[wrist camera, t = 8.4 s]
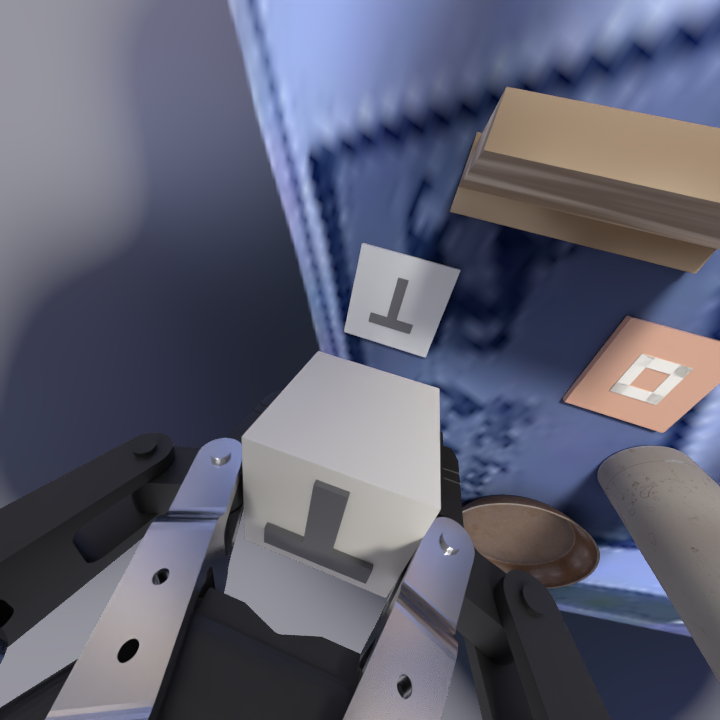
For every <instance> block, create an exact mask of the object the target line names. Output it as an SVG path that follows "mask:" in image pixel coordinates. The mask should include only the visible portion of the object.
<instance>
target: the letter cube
mask: <svg viewBox="0 0 720 720" xmlns="http://www.w3.org/2000/svg"><path fill="white" fill-rule="evenodd" d="M242 468H243V500H244V532H245V540H247V541H250V542H252V543H254V544H257V545H259V546H262V547H264V548H267V549H269V550H271V551H274V552H276V553H279V554H281V555H283V556H286V557H288V558H291V559H293V560H296V561H298V562H300V563H303V564H305V565H308V566H310V567H312V568H315V569H318V570H320V571H322V572H325V573H327V574H330V575H332V576H334V577H337V578H339V579H341V580H344V581H346V582H349V583H351V584H354V585H356V586H358V587H361V588H363V589H366V590H368V591H371V592H373V593H376V594H378V595H380V596H383V597H385V598H386V597H387V595H388V594H389V592H390V590H391V589H392V587H393V586H394V584H395V582H396V581H397V579H398V577H399V576H400V574H401V573H402V571H403V570H404V568H405V566H406V565H407V563H408V562H409V560H410V558H411V557H412V555H413V553H414V552H415V550H416V549H417V547H418V545H419V543H420V542H421V540H422V539H423V537H424V536H425V534H426V533H427V531H428V529H429V528H430V526H431V525H432V523H433V521H434V520H435V518H436V516H437V515H438V513H439V512H440V510H441V483H440V406H439V388H436V387H432V386H429V385H426V384H423V383H420V382H416V381H413V380H410V379H407V378H404V377H400V376H397V375H394V374H391V373H387V372H384V371H381V370H378V369H375V368H371V367H368V366H365V365H362V364H359V363H355V362H352V361H349V360H346V359H343V358H339V357H336V356H333V355H330V354H327V353H323V352H320V351H318V352H317V353H316V354H315V355H314V356H313V357H312V359H311V360H310V361H309V362H308V363H307V364H306V365H305V366H304V367H303V369H302V370H301V371H300V372H299V373H298V374H297V375H296V376H295V378H294V379H293V380H292V381H291V382H290V383H289V384H288V385H287V386H286V388H285V389H284V390H283V391H282V392H281V393H280V394H279V395H278V397H277V398H276V399H275V400H274V401H273V402H272V403H271V404H270V405H269V407H268V408H267V409H266V410H265V411H264V412H263V413H262V414H261V416H260V417H259V418H258V419H257V420H256V421H255V422H254V423H253V424H252V426H251V427H250V428H249V429H248V430H247V431H246V432H245V433H244V435H243V436H242Z"/></svg>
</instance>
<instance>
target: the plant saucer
mask: <svg viewBox="0 0 720 720" xmlns="http://www.w3.org/2000/svg"><path fill="white" fill-rule="evenodd" d="M462 513H463V524H464V529H465V530H466V532H467V533H468V534H469V536H470V538H471V540H472V542H473V545H474V547H475V549H476V550H477V551H478V552H479V553H480V554H481V555H483V556H484V557H485V558H486V559H488V560H489V561H490V562H492V563H493V564H495V565H496V566H497V567H499V568H500V569H501V570H503V571H504V572H505V573H508V572H509V571H511V570H522V571H525V572H527V573H529V574H530V575H532V576H533V577H535V578H536V579H537V580H538V581H540V582H541V583H542V585H543V586H544V587H545V588H546V589H550V588H558V587H564V586H568V585H572V584H574V583H577V582H579V581H581V580H583V579H585V578H586V577H588V576H589V575H590V574H592V572H594V570H595V569H596V568H597V565H598V563H599V559H600V553H599V549H598V546H597V544H596V542H595V541H594V539H593V538H592V537H591V535H590V534H589V533H588V532H587V531H586V530H585V529H583V528H582V527H581V526H580V525H579V524H578V523H576V522H575V521H574V520H572V519H571V518H569V517H568V516H566V515H565V514H563V513H562V512H560V511H558V510H557V509H555V508H553V507H551V506H549V505H547V504H545V503H542V502H539V501H536V500H533V499H529V498H525V497H520V496H511V495H496V496H488V497H483V498H479V499H477V500H474V501H472V502H470V503H468V504H467V505H465V506H464V507H462Z"/></svg>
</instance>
